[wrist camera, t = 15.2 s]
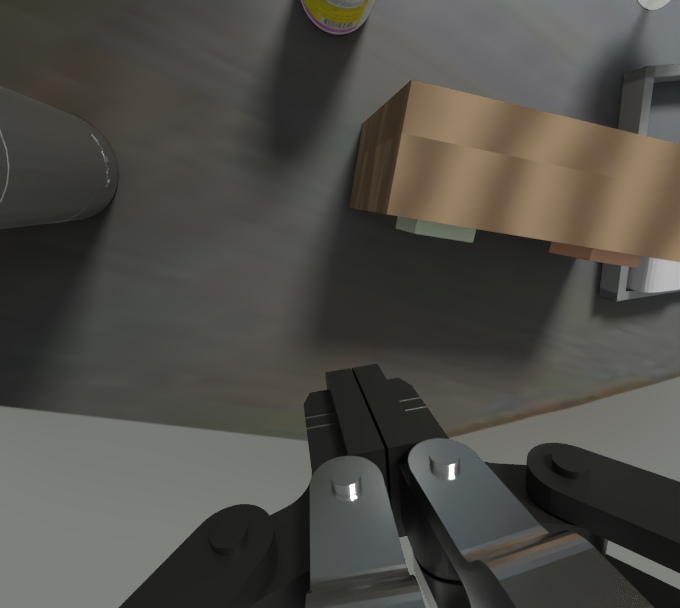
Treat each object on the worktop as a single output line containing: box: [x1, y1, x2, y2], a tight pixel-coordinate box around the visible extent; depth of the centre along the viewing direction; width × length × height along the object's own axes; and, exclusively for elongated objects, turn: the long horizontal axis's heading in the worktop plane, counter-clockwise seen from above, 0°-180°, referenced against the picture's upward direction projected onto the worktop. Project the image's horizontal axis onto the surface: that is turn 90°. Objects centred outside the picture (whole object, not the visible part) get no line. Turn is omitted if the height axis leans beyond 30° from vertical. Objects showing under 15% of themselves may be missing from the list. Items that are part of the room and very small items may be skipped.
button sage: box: [396, 216, 476, 243], centre depth 31 cm, size 5×5×5 cm
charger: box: [626, 256, 680, 293], centre depth 41 cm, size 5×9×15 cm
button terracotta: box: [549, 241, 641, 268], centre depth 34 cm, size 5×5×5 cm
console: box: [349, 80, 680, 262], centre depth 32 cm, size 28×8×14 cm, turn 81°
